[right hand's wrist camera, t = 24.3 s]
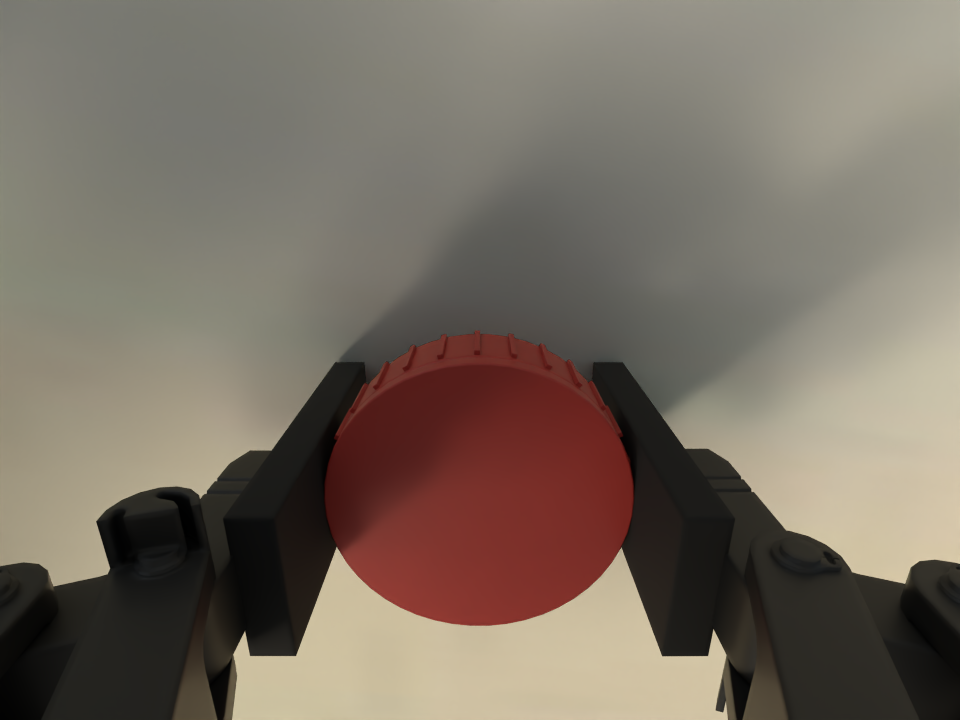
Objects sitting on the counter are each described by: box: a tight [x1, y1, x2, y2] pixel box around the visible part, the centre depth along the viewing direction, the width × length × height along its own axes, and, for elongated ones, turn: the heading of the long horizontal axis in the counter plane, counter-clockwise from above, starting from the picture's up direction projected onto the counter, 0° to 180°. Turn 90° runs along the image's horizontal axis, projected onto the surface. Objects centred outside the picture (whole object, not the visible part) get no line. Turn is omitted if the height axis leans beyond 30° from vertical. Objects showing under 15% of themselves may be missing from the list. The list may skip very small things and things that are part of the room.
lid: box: [324, 331, 634, 626], centre depth 11 cm, size 6×6×2 cm
